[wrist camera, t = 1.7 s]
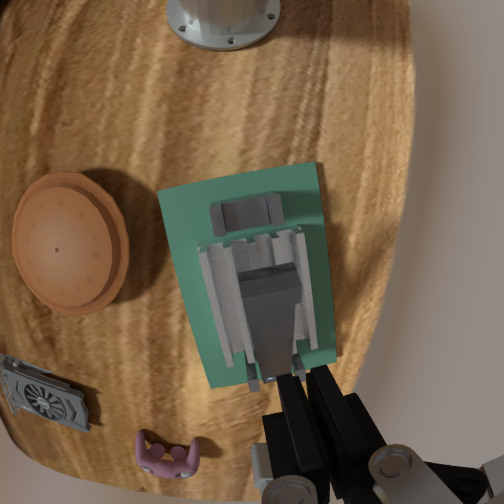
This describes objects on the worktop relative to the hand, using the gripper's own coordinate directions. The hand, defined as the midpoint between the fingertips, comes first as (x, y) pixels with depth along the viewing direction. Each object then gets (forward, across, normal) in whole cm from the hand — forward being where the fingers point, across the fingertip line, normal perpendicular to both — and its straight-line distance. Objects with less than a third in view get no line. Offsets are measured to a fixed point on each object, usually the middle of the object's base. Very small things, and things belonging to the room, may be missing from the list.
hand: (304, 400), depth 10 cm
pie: (+23, +19, -5) cm, 31 cm away
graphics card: (+24, +36, +17) cm, 46 cm away
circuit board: (+23, 0, +4) cm, 23 cm away
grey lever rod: (+13, 0, +4) cm, 13 cm away
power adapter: (+23, +3, +32) cm, 40 cm away
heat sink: (+22, 0, +3) cm, 22 cm away
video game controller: (+23, +18, +28) cm, 40 cm away
